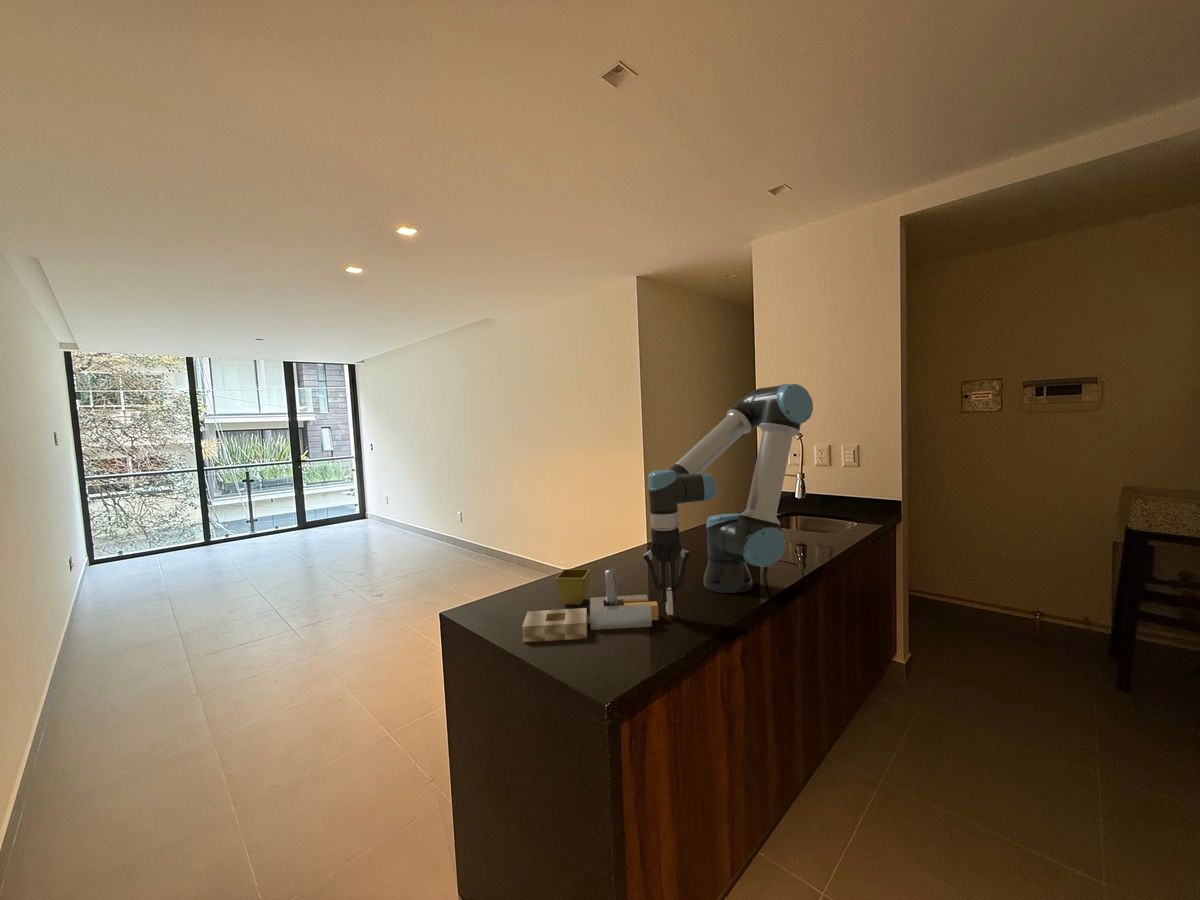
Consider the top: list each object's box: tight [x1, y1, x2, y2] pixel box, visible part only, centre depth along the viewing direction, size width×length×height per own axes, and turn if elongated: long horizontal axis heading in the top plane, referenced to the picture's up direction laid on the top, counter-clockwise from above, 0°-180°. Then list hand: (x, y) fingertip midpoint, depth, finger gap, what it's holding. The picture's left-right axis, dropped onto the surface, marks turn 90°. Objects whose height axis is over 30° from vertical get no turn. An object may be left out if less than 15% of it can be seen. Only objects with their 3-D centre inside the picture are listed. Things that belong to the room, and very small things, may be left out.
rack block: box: [521, 607, 588, 643], centre depth 124 cm, size 16×10×4 cm, turn 91°
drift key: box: [624, 600, 660, 621], centre depth 129 cm, size 9×3×4 cm, turn 91°
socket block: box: [589, 594, 653, 631], centre depth 129 cm, size 16×10×5 cm, turn 91°
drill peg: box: [604, 568, 618, 606], centre depth 129 cm, size 3×3×14 cm
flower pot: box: [555, 568, 591, 606], centre depth 145 cm, size 9×9×9 cm
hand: (669, 612), depth 130 cm, fingers closed
